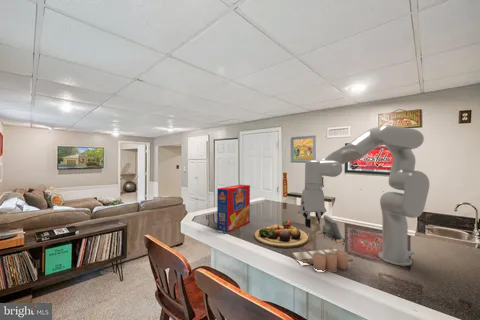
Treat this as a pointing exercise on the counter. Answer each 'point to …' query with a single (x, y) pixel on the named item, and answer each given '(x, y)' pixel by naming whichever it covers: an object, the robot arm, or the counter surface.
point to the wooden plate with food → (281, 236)
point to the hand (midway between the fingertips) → (312, 226)
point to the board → (308, 255)
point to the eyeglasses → (332, 238)
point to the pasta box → (233, 207)
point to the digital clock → (331, 227)
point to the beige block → (314, 225)
